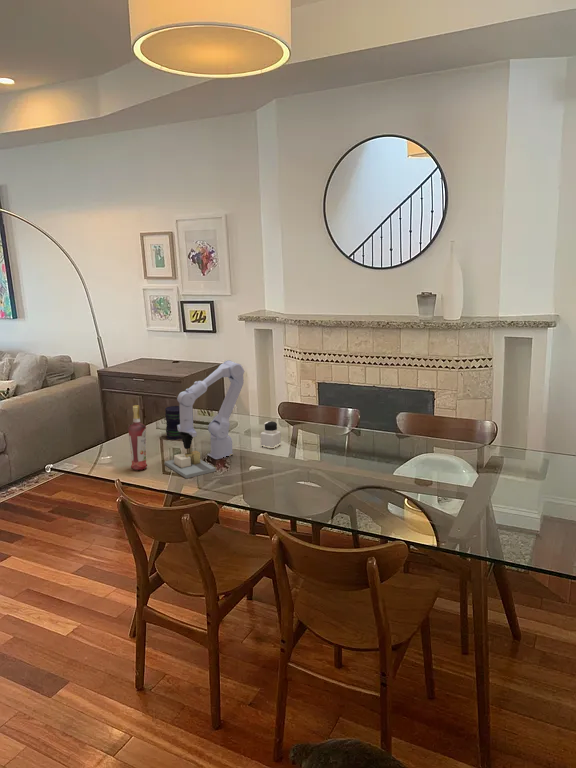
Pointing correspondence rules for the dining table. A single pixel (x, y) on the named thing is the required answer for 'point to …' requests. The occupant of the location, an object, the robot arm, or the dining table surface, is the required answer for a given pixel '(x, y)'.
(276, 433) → the medicine bottle
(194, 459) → the wooden l-shaped block
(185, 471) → the panel
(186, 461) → the cover
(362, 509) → the dining table surface
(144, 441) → the liquor
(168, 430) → the storage jar
